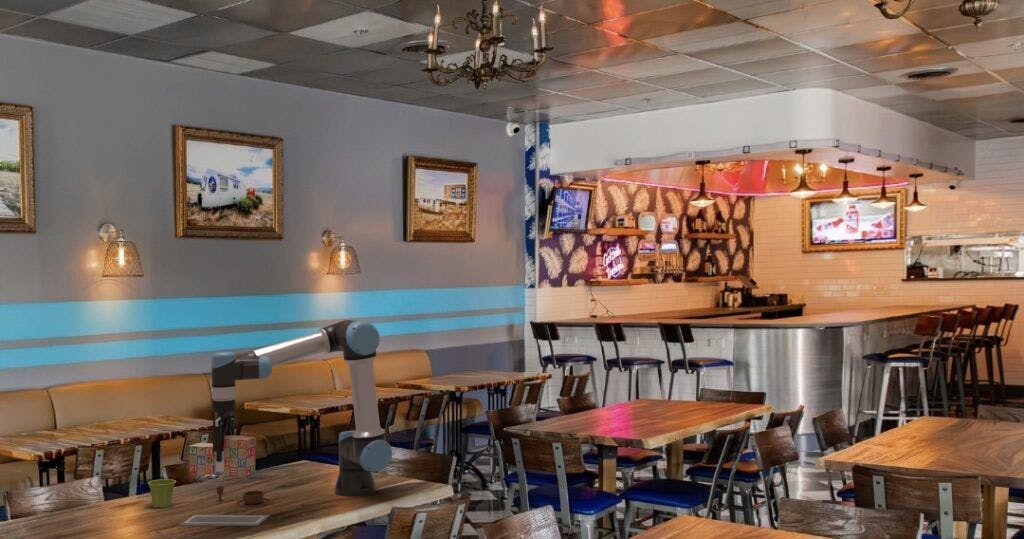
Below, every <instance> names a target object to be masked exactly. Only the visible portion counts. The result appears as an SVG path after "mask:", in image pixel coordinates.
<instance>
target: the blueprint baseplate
mask: <svg viewBox="0 0 1024 539" xmlns="http://www.w3.org/2000/svg"><path fill="white" fill-rule="evenodd" d="M269 517H271V515H270V514H193V515H192V516H190V517H188V518H187V519H185V520H184V521H183V522H181V523H179V524H178V527H183V528H184V527H186V526H187V527H258V526H259V525H261V524H262V523H263V522H265V520H267V519H269ZM260 523H261V524H260Z"/></svg>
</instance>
